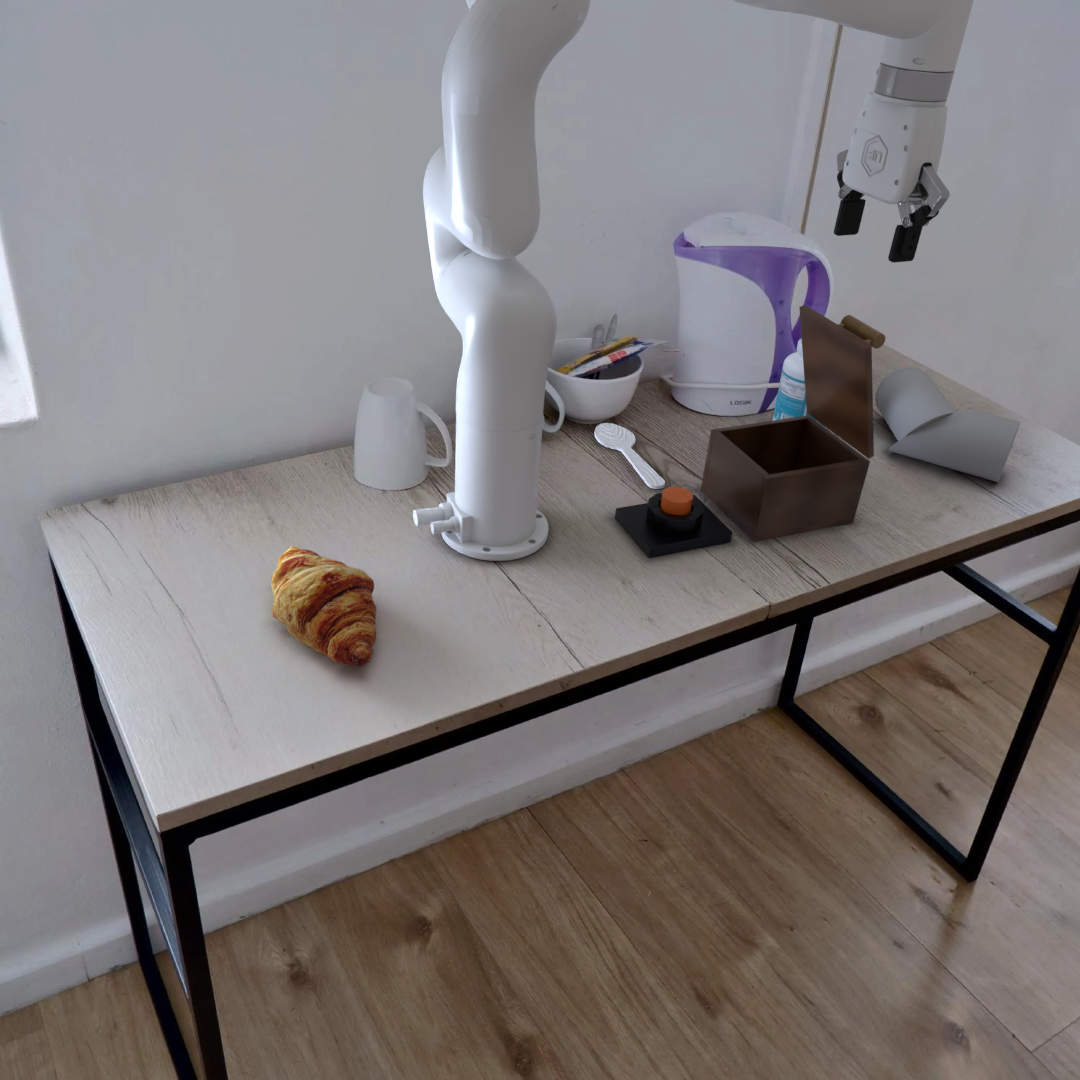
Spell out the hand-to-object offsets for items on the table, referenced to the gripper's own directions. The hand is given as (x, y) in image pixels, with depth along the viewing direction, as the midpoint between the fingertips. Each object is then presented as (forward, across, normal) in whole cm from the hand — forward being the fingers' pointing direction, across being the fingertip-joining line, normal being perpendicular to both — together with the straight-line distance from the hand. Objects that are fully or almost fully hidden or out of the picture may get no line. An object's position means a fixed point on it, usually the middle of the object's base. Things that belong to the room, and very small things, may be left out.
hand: (872, 247), depth 115 cm
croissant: (+32, +7, -66) cm, 74 cm away
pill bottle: (+32, -14, +7) cm, 35 cm away
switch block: (+32, +4, -24) cm, 40 cm away
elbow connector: (+32, -4, +23) cm, 39 cm away
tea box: (+32, +3, -8) cm, 33 cm away
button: (+28, +4, -24) cm, 37 cm away
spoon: (+32, -14, -20) cm, 40 cm away
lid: (+15, +3, -4) cm, 16 cm away
